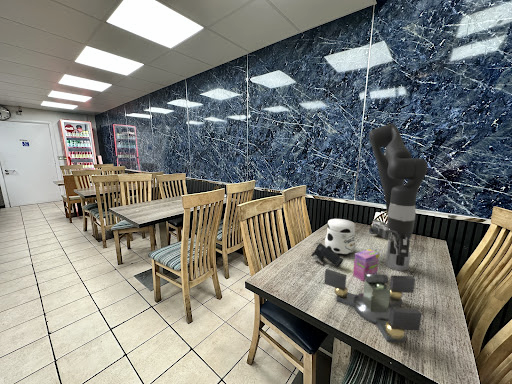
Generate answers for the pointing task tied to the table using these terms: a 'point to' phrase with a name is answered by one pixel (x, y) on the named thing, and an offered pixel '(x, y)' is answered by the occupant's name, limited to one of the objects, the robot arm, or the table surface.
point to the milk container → (340, 236)
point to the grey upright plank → (336, 282)
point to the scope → (326, 255)
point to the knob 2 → (402, 322)
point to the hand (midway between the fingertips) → (396, 259)
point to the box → (365, 263)
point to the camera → (379, 229)
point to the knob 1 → (401, 286)
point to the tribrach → (374, 302)
